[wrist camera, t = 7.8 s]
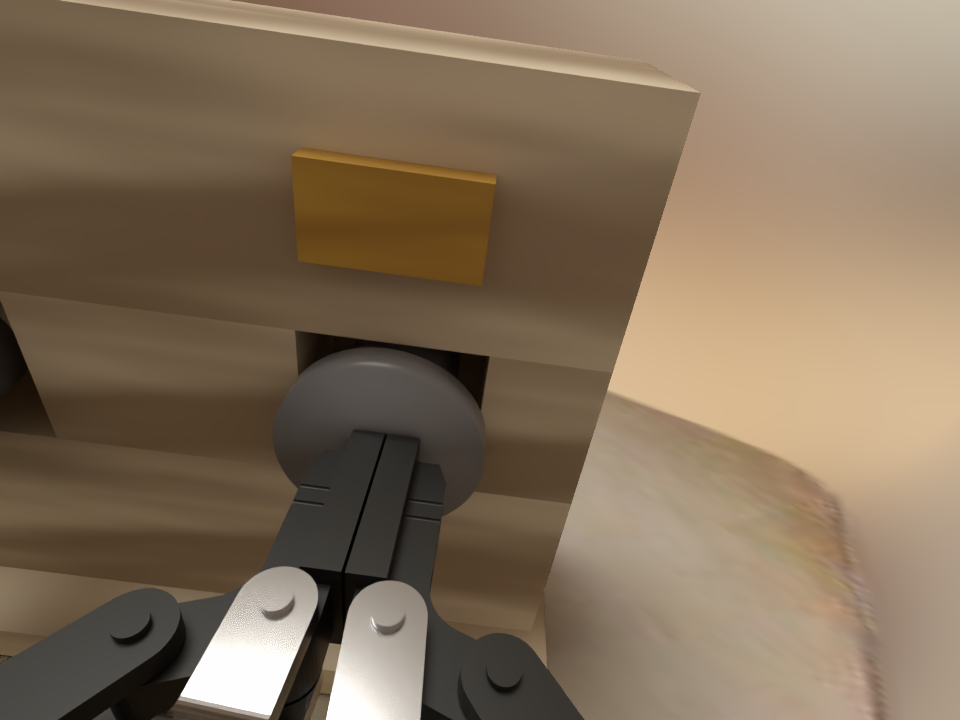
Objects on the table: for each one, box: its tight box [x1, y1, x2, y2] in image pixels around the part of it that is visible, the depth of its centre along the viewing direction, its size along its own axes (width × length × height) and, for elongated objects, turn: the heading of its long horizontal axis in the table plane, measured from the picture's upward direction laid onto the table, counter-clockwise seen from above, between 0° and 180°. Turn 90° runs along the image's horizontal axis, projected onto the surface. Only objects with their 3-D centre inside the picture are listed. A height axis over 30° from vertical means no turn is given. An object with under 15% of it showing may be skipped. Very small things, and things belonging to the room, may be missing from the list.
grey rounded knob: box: [272, 339, 486, 517], centre depth 14 cm, size 4×5×5 cm
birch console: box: [0, 0, 700, 694], centre depth 16 cm, size 8×22×18 cm, turn 87°
